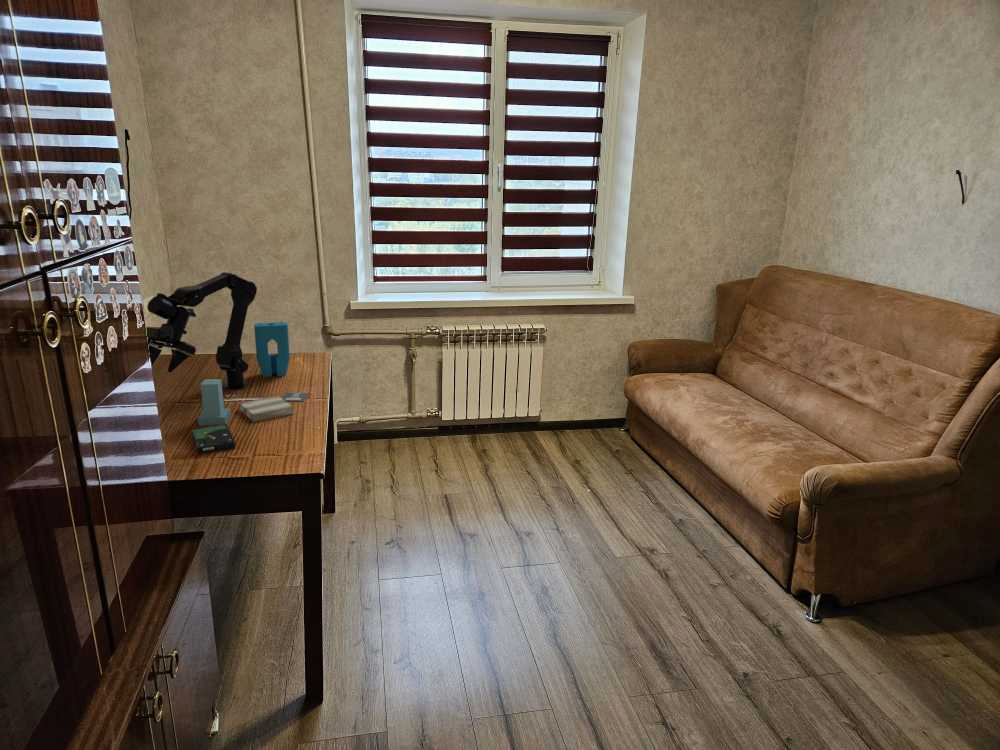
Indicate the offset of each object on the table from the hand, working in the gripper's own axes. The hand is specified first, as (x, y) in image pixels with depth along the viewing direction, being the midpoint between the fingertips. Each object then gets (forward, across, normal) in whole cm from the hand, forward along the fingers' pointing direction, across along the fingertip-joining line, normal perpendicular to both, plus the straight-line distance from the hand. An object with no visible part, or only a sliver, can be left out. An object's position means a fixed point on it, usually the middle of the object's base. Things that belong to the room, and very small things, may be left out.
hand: (158, 369), depth 211 cm
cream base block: (+4, +27, +22) cm, 36 cm away
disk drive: (+18, +31, +1) cm, 36 cm away
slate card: (-5, +26, +35) cm, 44 cm away
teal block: (+11, +19, +11) cm, 24 cm away
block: (-14, +2, +49) cm, 51 cm away
